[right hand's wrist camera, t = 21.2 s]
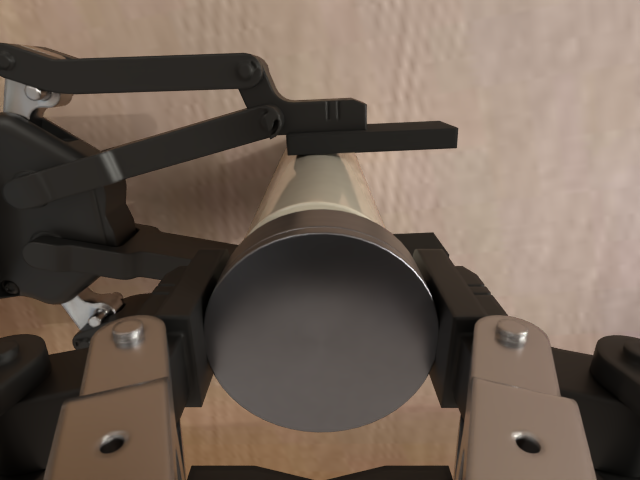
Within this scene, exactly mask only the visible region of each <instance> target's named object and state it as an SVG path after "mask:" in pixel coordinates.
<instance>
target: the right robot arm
mask: <svg viewBox="0 0 640 480" xmlns="http://www.w3.org/2000/svg"><path fill="white" fill-rule="evenodd" d="M229 258H230V256H229V252H228V250H227V249H199V250H198V252H197V253H196V255H195V256H194V258H193V259H192V260H191V262H190V263H189V265H188V266H179V267H177V268H175V269H174V270H172V271H170V272H169V273H167V274H166V275H165V276H164V277H163V279H162V280H161V281H160V283H159V284H158V286H157V287H156V288H155V289H154V291H153V292H152V295H150V296H149V297H148V299H147V300H146V301H145V303H144V304H143V305H142V307H141V308H140V309H139V310H138V312H137V313H136V314H135V316H129V317H124V318H121V319H118V320H115V321H112V322H110V323H108V324H106V325H105V326H103V327H101V328H100V329H99V330H97V331H96V332H95V333H94V335H93V336H92V338H91V341H90V345H89V347H87V348H83V349H78V350H73V351H67V352H62V353H57V354H51V355H48V351H47V348H46V344H45V341H44V340H43V339H42V338H41V337H39V336H36V335H30V334H20V335H12V336H7V337H3V338H0V480H312V479H308V478H304V477H299V476H295V475H291V474H287V473H283V472H279V471H274V470H270V469H266V468H262V467H258V466H191V469H190V472H189V475H188V478H187V477H186V467H185V458H184V448H183V438H182V429H181V422H180V418H181V415H182V413H183V410H184V408H185V407H202V405H203V402H204V399H205V396H206V393H207V390H208V387H209V385H210V382H211V379H212V376H213V371H212V369H211V367H210V365H209V362H208V359H207V352H206V344H205V336H204V326H203V324H204V316H205V311H206V308H207V305H208V302H209V299H210V297H211V295H212V293H213V291H214V288H215V286H216V284H217V282H218V280H219V278H220V276H221V274H222V272H223V270H224V268H225V266H226V264H227V262H228V260H229ZM413 259H414V261H415V263H416V264H417V266H418V268H419V270H420V272H421V275H422V277H423V279H424V281H425V283H426V285H427V287H428V289H429V291H430V293H431V295H432V298H433V300H434V303H435V305H436V309H437V313H438V317H439V333H438V341H437V349H436V357H435V361H434V364H433V366H432V369H431V371H430V373H429V375H430V378H431V380H432V383H433V386H434V389H435V391H436V394H437V397H438V400H439V403H440V405H441V408H459V410H460V413H461V416H460V422H459V429H458V438H457V448H456V458H455V467H454V477H453V478H452V475H451V472H450V469H449V466H382V467H378V468H374V469H370V470H366V471H361V472H357V473H353V474H349V475H345V476H341V477H337V478H332V479H328V480H640V339H638V338H634V337H629V336H621V335H613V336H606V337H603V338H601V339H600V340H598V342H597V344H596V348H595V351H594V355H589V354H583V353H578V352H573V351H567V350H562V349H558V348H554V347H551V345H550V341H549V338H548V336H547V335H546V333H545V332H544V331H543V330H541V329H540V328H539V327H537V326H535V325H534V324H532V323H530V322H528V321H525V320H522V319H519V318H516V317H511V316H508V315H507V314H506V312H505V311H504V310H503V308H502V307H501V306H500V304H499V303H498V302H497V300H496V299H495V298H494V297H493V295H491V293H490V291H489V290H488V289H487V287H484V284H483V282H482V281H481V280H480V278H479V277H478V276H477V275H476V274H475V273H473V272H471V271H470V270H468V269H466V268H465V267H463V266H454V264H453V263H452V262H451V260H450V259H449V257H448V256H447V254H446V253H445V251H444V250H443V249H415V250H414V253H413Z"/></svg>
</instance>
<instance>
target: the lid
mask: <svg viewBox="0 0 640 480" xmlns="http://www.w3.org/2000/svg"><path fill="white" fill-rule="evenodd" d="M203 326H204V336H205V344H206V352H207V359H208V362H209V365H210V367H211V369H212V371H213V373H214V375H215V377H216V379H217V380H218V382H219V383H220V384H221V386H222V387H223V389H224V390H225V391H226V392H227V393H228V394H229V395H230V396H231V397H232V398H233V399H234V400H235V401H236V402H237V403H238V404H239V405H241V406H242V407H243V408H245V409H246V410H248V411H249V412H251V413H252V414H254V415H256V416H258V417H260V418H261V419H263V420H266V421H268V422H271V423H273V424H276V425H279V426H282V427H286V428H289V429H294V430H300V431H307V432H335V431H343V430H349V429H353V428H357V427H361V426H364V425H367V424H370V423H372V422H375V421H377V420H379V419H381V418H383V417H385V416H387V415H388V414H390V413H392V412H393V411H395V410H397V409H398V408H399V407H400V406H402V405H403V404H404V403H406V402H407V401H408V400H409V399H410V398H411V397H412V396H413V395H414V394H415V393H416V392H417V390H418V389H419V388H420V387H421V385H422V384H423V383H424V381H425V380H426V378H427V376H428V374H429V373H430V371H431V369H432V366H433V364H434V361H435V357H436V349H437V341H438V333H439V317H438V313H437V309H436V305H435V303H434V300H433V298H432V295H431V293H430V291H429V289H428V287H427V285H426V283H425V281H424V279H423V277H422V275H421V272H420V270H419V268H418V266H417V264H416V263H415V261H414V259H413V257H412V256H411V254H410V252H409V251H408V250H407V249H406V247H405V246H404V245H403V244H402V243H401V242H400V241H399V240H398V239H397V238H396V237H395V236H394V235H393V234H392V233H391V232H389V231H388V230H386V229H385V228H383V227H382V226H381V225H379V224H377V223H375V222H373V221H371V220H369V219H367V218H364V217H362V216H359V215H356V214H353V213H349V212H344V211H340V210H329V209H312V210H304V211H298V212H293V213H290V214H287V215H283V216H280V217H278V218H276V219H274V220H271V221H269V222H267V223H266V224H264V225H262V226H261V227H259V228H257V229H256V230H255V231H253V232H252V233H251V234H250V235H248V236H247V237H246V238H245V239H244V240H243V241H242V242H241V243H240V244H239V245H238V247H237V248H236V249H235V251H234V252H233V254H232V255H231V256H230V258H229V260H228V262H227V264H226V266H225V268H224V270H223V272H222V274H221V276H220V278H219V280H218V282H217V284H216V286H215V288H214V291H213V293H212V295H211V297H210V299H209V302H208V305H207V308H206V311H205V316H204V324H203Z"/></svg>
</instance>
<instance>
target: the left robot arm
mask: <svg viewBox="0 0 640 480" xmlns="http://www.w3.org/2000/svg"><path fill="white" fill-rule="evenodd" d="M0 76H1V77H3V78H5V90H4V107H3V112H1V113H0V299H2V298H8V297H15V296H26V297H31V298H34V299H37V300H39V301H42V302H44V303H48V304H61V305H62V306H63V308H64V309H65V310H66V312H67V313H68V314H69V316H70V317H71V318H72V320H73V321H74V322H75V324H76V325H77V327H78V328H79V329H80V331H79V332H78V333H77V334H76V335H75V336H74V338H73V346H74V348H75V349H76V350H78V349H83V348H87V347H89V345H90V341H91V338H92V336H93V335H94V333H95V332H96V331H97V330H99V329H100V328H101V327H103V326H105V325H106V324H108V323H110V322H112V321H115V320H118V319H121V318H124V317H129V316H135V314H136V313H137V312H138V310H139V309H140V308H141V307H142V305H143V304H144V303H145V301H146V300H147V299H148V297H149V296H150V295H152V293H147V294H139V295H134V296H130V297H127V298H124V299H123V296H122V295H121V294H120V293H118V292H114V293H112V294H97V293H94V292H93V291H91V290H90V289H89V288H88V286H89V285H91V284H92V283H93V282H94V281H95V280H97V279H98V278H99V277H100V276H103V277H109V278H115V279H122V280H128V279H133V278H136V277H146V278H152V279H158V280H162V279H163V277H164V276H165V275H166V274H167V273H169V272H170V271H172V270H174V269H175V268H177V267H179V266H188V265H189V263H190V262H191V260H192V259H193V258H194V256H195V255H196V253H197V252H198V250H199V249H227V250H228V252H229V256H231V255H232V254H233V252H234V251H235V249H236V248H237V247H238V245H235V244H229V243H223V242H217V241H211V240H205V239H199V238H193V237H188V236H182V235H176V234H170V233H164V232H161V231H159V230H158V228H156V227H152V226H147V225H141V224H135V223H134V219H133V217H132V215H131V213H130V211H129V209H128V207H127V205H126V186H127V185H126V181H125V179H127V178H130V177H134V176H137V175H141V174H144V173H148V172H151V171H155V170H158V169H162V168H165V167H168V166H172V165H175V164H179V163H182V162H186V161H189V160H193V159H196V158H200V157H203V156H207V155H210V154H214V153H217V152H221V151H224V150H228V149H231V148H235V147H238V146H242V145H245V144H249V143H252V142H256V141H259V140H263V139H266V138H270V139H272V138H274V137H276V136H277V135H286V141H287V155H288V156H291V155H314V154H336V153H359V152H381V151H403V150H426V149H448V148H457V138H458V128H457V127H454V126H452V125H449V124H446V123H444V122H441V121H426V122H404V123H382V124H367V104H365V103H363V102H361V101H358V100H356V99H353V98H338V99H315V100H289V99H286V98H284V97H283V96H282V95H281V94H280V93H279V92H278V90H277V89H276V87H275V84H274V82H273V80H272V77H271V75H270V73H269V69H268V65H267V64H266V62H265V61H264V60H263V59H262V58H260V57H258V56H255V55H251V54H247V53H229V54H199V55H170V56H141V57H112V58H82V59H79V58H76V57H73V56H70V55H67V54H64V53H61V52H58V51H55V50H52V49H49V48H45V47H37V46H29V45H19V44H7V43H0ZM217 89H239V92H240V94H241V96H242V98H243V100H244V102H245V105H246V107H247V108H246V109H242V110H239V111H235V112H232V113H229V114H225V115H222V116H219V117H215V118H212V119H208V120H205V121H202V122H198V123H195V124H191V125H188V126H185V127H181V128H178V129H175V130H171V131H168V132H164V133H161V134H158V135H154V136H151V137H147V138H144V139H141V140H137V141H133V142H130V143H126V144H123V145H120V146H116V147H113V148H109V149H106V150H103V151H100V150H98V149H96V148H95V147H93V146H91V145H90V144H88V143H86V142H84V141H83V140H81V139H79V138H78V137H76V136H74V135H73V134H71V133H69V132H68V131H66V130H64V129H62V128H61V127H59V126H57V125H56V124H54V123H52V122H51V121H49V120H47V119H46V118H44V117H43V114H44V112H45V110H46V109H47V108H52V107H60V106H65V105H67V104H68V103H69V102H70V101H71V99H72V96H73V95H74V94H97V93H127V92H157V91H187V90H217ZM393 235H394V236H395V237H396V238H397V239H398V240H399V241H400V242H401V243H402V244H403V245H404V246H405V247H406V249H407V250H408V251H409V252H410V254H411V256H412V257H413V253H414V250H415V249H443V250H444V251H445V253H446V254H447V256H448V257H449V254H448V252H447V251H446V250H445V248H444V247H443V245H442V244H441V243H440V241H439V240H438V239H437V237H436V236H435V234H434V233H410V234H393Z"/></svg>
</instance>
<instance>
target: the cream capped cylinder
mask: <svg viewBox="0 0 640 480" xmlns="http://www.w3.org/2000/svg"><path fill="white" fill-rule="evenodd" d="M312 209H329V210H340V211H344V212H349V213H353V214H356V215H359V216H362V217H364V218H367V219H369V220H371V221H373V222H375V223H377V224H379V225H381V226H382V227H383V228H385V226H384V223H383V221H382V218H381V216H380V214H379V211H378V209H377V206H376V204H375V201H374V199H373V196H372V194H371V191H370V189H369V187H368V184H367V182H366V179H365V177H364V174H363V172H362V169H361V167H360V164H359V162H358V160H357V157H356V155H355V153H336V154H314V155H291V156H288V155H287V147H286V149H285V151H284V153H283V155H282V157H281V159H280V162H279V164H278V166H277V168H276V170H275V173H274V175H273V177H272V179H271V181H270V184H269V186H268V188H267V190H266V192H265V195H264V197H263V199H262V201H261V203H260V206H259V208H258V210H257V212H256V214H255V217H254V219H253V221H252V223H251V225H250V227H249V230H248V232H247V234H246V236H245V238H246V237H247V236H248V235H250V234H251V233H252V232H253V231H255V230H256V229H257V228H259V227H261V226H262V225H264V224H266V223H267V222H269V221H271V220H274V219H276V218H278V217H280V216H283V215H287V214H290V213H293V212H298V211H304V210H312ZM385 229H386V228H385ZM245 238H244V239H245Z"/></svg>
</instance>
